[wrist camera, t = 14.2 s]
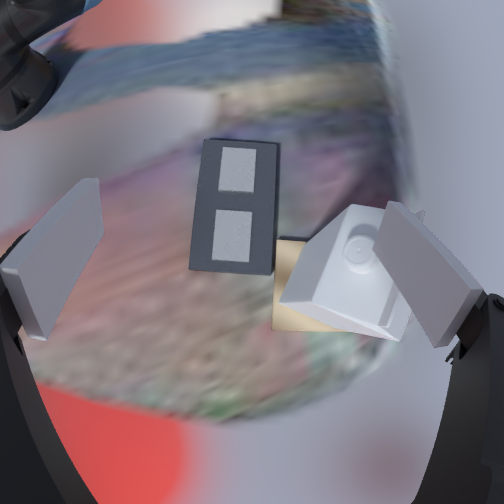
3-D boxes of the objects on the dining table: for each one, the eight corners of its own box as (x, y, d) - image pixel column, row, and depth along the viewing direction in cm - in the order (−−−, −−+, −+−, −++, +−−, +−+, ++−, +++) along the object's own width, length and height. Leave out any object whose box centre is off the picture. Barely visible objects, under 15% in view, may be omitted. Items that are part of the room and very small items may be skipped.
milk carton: (356, 271, 34) (464, 237, 16) (333, 328, 33) (433, 347, 14) (303, 245, 34) (374, 180, 16) (277, 303, 33) (329, 301, 15)
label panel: (204, 143, 37) (203, 137, 35) (275, 148, 37) (277, 142, 36) (189, 270, 34) (188, 268, 33) (269, 275, 35) (271, 274, 33)
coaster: (276, 241, 35) (277, 239, 34) (357, 247, 36) (360, 246, 35) (271, 329, 34) (272, 329, 33) (354, 330, 34) (357, 331, 33)
